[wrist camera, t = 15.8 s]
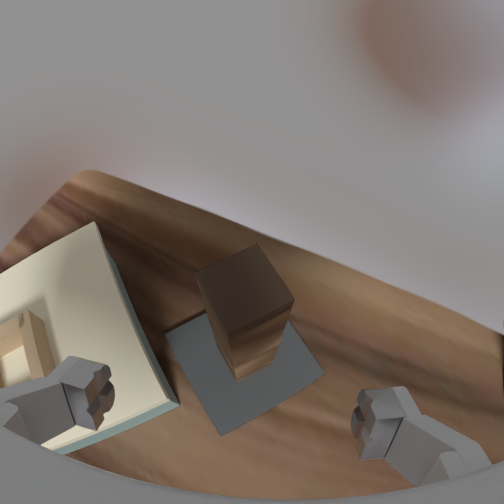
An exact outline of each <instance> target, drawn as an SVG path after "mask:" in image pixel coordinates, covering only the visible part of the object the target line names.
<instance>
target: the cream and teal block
mask: <svg viewBox="0 0 504 504" xmlns="http://www.w3.org/2000/svg"><path fill="white" fill-rule="evenodd" d="M68 356H76V357H80V358H84V359H87V360H91V361H95V362H99V363H103V364H106V365H108V366H109V367H110V370H111V374H112V376H111V377H110V379H109V381H110V382H111V383H112V384H113V386H114V389H115V400H114V404H113V406H112V408H111V410H110V411H109V412H106V413H104V414H103V415H104V421H103V422H102V424H101V425H100V427H99V428H98V430H97V431H94V430H90V429H87V428H84V427H80V426H77V425H75V426H74V427H73V428H71V429H69V430H67V431H65V432H64V433H62V434H60V435H58V436H56V437H54V438H52V439H51V440H49V441H47V442H45V443H43V444H41V446H43V447H46V448H48V449H50V450H52V451H55V452H57V453H59V454H62V455H64V454H67V453H70V452H73V451H75V450H78V449H81V448H83V447H86V446H89V445H91V444H94V443H96V442H99V441H101V440H104V439H106V438H109V437H111V436H114V435H116V434H118V433H121V432H123V431H125V430H128V429H130V428H132V427H135V426H137V425H139V424H141V423H144V422H146V421H148V420H150V419H152V418H155V417H157V416H159V415H161V414H163V413H165V412H167V411H169V410H172V409H174V408H176V407H178V406H180V403H179V402H178V400H177V398H176V396H175V394H174V392H173V390H172V389H171V387H170V385H169V383H168V381H167V379H166V377H165V375H164V373H163V371H162V369H161V367H160V365H159V363H158V361H157V359H156V357H155V355H154V353H153V351H152V348H151V346H150V344H149V342H148V340H147V338H146V336H145V333H144V331H143V329H142V327H141V324H140V322H139V320H138V318H137V315H136V313H135V311H134V308H133V306H132V304H131V301H130V299H129V296H128V294H127V291H126V289H125V286H124V284H123V281H122V279H121V276H120V274H119V271H118V268H117V266H116V264H115V262H114V261H113V259H112V257H111V256H110V254H109V253H108V251H107V250H106V248H105V246H104V244H103V241H102V238H101V235H100V232H99V229H98V227H97V225H96V223H95V222H92V223H90V224H88V225H86V226H84V227H82V228H80V229H78V230H76V231H74V232H73V233H71V234H69V235H67V236H65V237H63V238H61V239H60V240H58V241H56V242H54V243H52V244H50V245H49V246H47V247H45V248H43V249H42V250H40V251H38V252H36V253H35V254H33V255H31V256H29V257H28V258H26V259H24V260H23V261H21V262H19V263H18V264H16V265H14V266H13V267H11V268H9V269H8V270H6V271H4V272H3V273H1V274H0V389H1V388H4V387H8V386H12V385H15V384H19V383H22V382H26V381H29V380H33V379H36V378H39V377H47V376H48V375H49V374H50V373H51V372H52V371H53V370H54V369H55V368H56V367H58V366H59V365H60V364H61V363H62V362H63V361H64V360H65V359H66V358H67V357H68Z"/></svg>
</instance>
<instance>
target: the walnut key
mask: <svg viewBox="0 0 504 504" xmlns="http://www.w3.org/2000/svg"><path fill="white" fill-rule="evenodd" d="M194 274H195V277H196V281H197V284H198V287H199V291H200V294H201V297H202V300H203V304H204V307H205V310H206V313H207V316H208V320H209V323H210V326H211V329H212V332H213V335H214V338H215V341H216V344H217V347H218V350H219V352H220V353H221V355H222V357H223V359H224V361H225V362H226V364H227V366H228V368H229V369H230V371H231V373H232V375H233V376H234V378H235V380H236V382H239V381H241V380H243V379H245V378H246V377H248V376H250V375H252V374H254V373H256V372H258V371H260V370H261V369H263V368H265V367H267V366H269V365H271V364H272V363H273V360H274V358H275V355H276V352H277V349H278V346H279V344H280V341H281V338H282V335H283V332H284V329H285V326H286V323H287V320H288V318H289V315H290V312H291V309H292V306H293V303H294V300H295V298H294V297H293V296H292V294H291V293H290V291H289V290H288V288H287V287H286V285H285V284H284V282H283V281H282V279H281V278H280V276H279V275H278V273H277V272H276V271H275V269H274V268H273V266H272V265H271V263H270V262H269V260H268V259H267V257H266V256H265V254H264V253H263V252H262V250H261V249H260V247H259V246H258V244H255V245H253V246H251V247H249V248H247V249H245V250H242V251H240V252H238V253H236V254H234V255H232V256H229V257H227V258H225V259H223V260H221V261H219V262H217V263H214V264H212V265H210V266H208V267H206V268H204V269H202V270H199V271H197V272H195V273H194Z"/></svg>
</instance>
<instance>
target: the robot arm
mask: <svg viewBox="0 0 504 504" xmlns="http://www.w3.org/2000/svg"><path fill="white" fill-rule="evenodd" d="M111 376H112V374H111V370H110V367H109V366H108V365H106V364H103V363H99V362H95V361H91V360H87V359H84V358H80V357H76V356H68V357H67V358H66V359H65V360H64V361H63V362H62V363H61V364H60V365H59V366H58V367H56V368H55V369H54V370H53V371H52V372H51V373H50V374H49V375H48V376H47V377H39V378H36V379H33V380H29V381H26V382H22V383H19V384H15V385H12V386H8V387H4V388H1V389H0V504H504V461H501V462H499V463H496V464H493V465H492V464H491V462H490V461H489V459H488V458H487V456H486V454H485V453H484V451H483V450H482V448H481V447H480V445H479V443H477V442H475V441H473V440H472V439H470V438H468V437H466V436H464V435H462V434H460V433H458V432H456V431H455V430H453V429H451V428H449V427H447V426H445V425H443V424H442V423H440V422H438V421H436V420H434V419H432V418H431V417H429V416H427V415H422V414H421V413H420V411H419V409H418V407H417V406H416V404H415V402H414V401H413V399H412V397H411V395H410V394H409V392H408V390H407V389H406V388H405V387H404V386H400V387H390V388H381V389H361V391H360V392H359V395H358V398H357V400H358V403H359V406H357V407H356V408H355V409H354V411H353V415H352V420H351V429H352V434H353V436H354V437H355V438H356V439H358V441H357V443H356V449H357V452H358V456H359V459H360V460H364V459H378V458H384V459H385V460H386V461H387V462H388V463H389V464H390V465H391V466H392V467H394V468H395V469H396V470H397V471H398V472H399V473H400V474H401V475H402V476H404V477H405V478H406V479H407V480H408V481H409V482H410V483H412V484H413V485H414V486H415V487H414V488H409V489H404V490H398V491H392V492H386V493H380V494H372V495H365V496H355V497H345V498H331V499H308V500H278V499H255V498H241V497H231V496H222V495H213V494H206V493H199V492H193V491H187V490H182V489H176V488H171V487H166V486H162V485H157V484H153V483H149V482H144V481H140V480H137V479H133V478H129V477H126V476H122V475H119V474H115V473H112V472H109V471H106V470H103V469H100V468H97V467H94V466H91V465H88V464H85V463H82V462H80V461H77V460H74V459H72V458H69V457H67V456H64V455H62V454H59V453H57V452H55V451H52V450H50V449H48V448H46V447H43V446H41V444H43V443H45V442H47V441H49V440H51V439H52V438H54V437H56V436H58V435H60V434H62V433H64V432H65V431H67V430H69V429H71V428H73V427H74V426H75V425H77V426H80V427H84V428H87V429H90V430H94V431H97V430H98V428H99V427H100V425H101V424H102V422H103V421H104V415H103V414H104V413H106V412H109V411H110V410H111V408H112V406H113V404H114V400H115V389H114V386H113V384H112V383H111V382H110V381H109V379H110V377H111Z"/></svg>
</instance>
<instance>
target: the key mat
mask: <svg viewBox="0 0 504 504" xmlns="http://www.w3.org/2000/svg"><path fill="white" fill-rule="evenodd" d="M164 335H165V337H166V339H167V341H168V343H169V345H170V347H171V349H172V351H173V353H174V355H175V357H176V358H177V360H178V362H179V364H180V366H181V368H182V370H183V372H184V374H185V375H186V377H187V379H188V381H189V383H190V385H191V386H192V388H193V390H194V392H195V393H196V395H197V397H198V399H199V400H200V402H201V404H202V406H203V407H204V409H205V411H206V413H207V414H208V416H209V418H210V419H211V421H212V423H213V424H214V426H215V427H216V429H217V431H218V432H219V434H220V436H222V435H224V434H226V433H228V432H230V431H232V430H234V429H236V428H237V427H239V426H241V425H243V424H245V423H247V422H248V421H250V420H252V419H254V418H256V417H257V416H259V415H261V414H263V413H264V412H266V411H268V410H269V409H271V408H273V407H274V406H276V405H278V404H279V403H281V402H283V401H284V400H286V399H288V398H289V397H291V396H292V395H294V394H296V393H297V392H299V391H300V390H302V389H303V388H305V387H307V386H308V385H310V384H311V383H313V382H314V381H316V380H317V379H319V378H320V377H322V376H323V375H324V374H325V372H324V371H323V369H322V368H321V366H320V365H319V364H318V362H317V361H316V359H315V358H314V356H313V355H312V354H311V352H310V351H309V349H308V348H307V346H306V345H305V344H304V342H303V341H302V339H301V338H300V336H299V335H298V334H297V332H296V331H295V329H294V328H293V326H292V325H291V324H290V322H289V321H288V320H287V323H286V326H285V329H284V332H283V335H282V338H281V341H280V344H279V346H278V349H277V352H276V355H275V358H274V360H273V363H272V364H271V365H269V366H267V367H265V368H263V369H261V370H260V371H258V372H256V373H254V374H252V375H250V376H248V377H246V378H245V379H243V380H241V381H239V382H236V380H235V378H234V376H233V375H232V373H231V371H230V369H229V368H228V366H227V364H226V362H225V361H224V359H223V357H222V355H221V353H220V352H219V350H218V347H217V344H216V341H215V338H214V335H213V332H212V329H211V326H210V323H209V320H208V316H207V313H205V314H203V315H201V316H199V317H197V318H195V319H193V320H191V321H189V322H187V323H186V324H184V325H182V326H180V327H178V328H176V329H174V330H172V331H170V332H168V333H166V334H164Z"/></svg>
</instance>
